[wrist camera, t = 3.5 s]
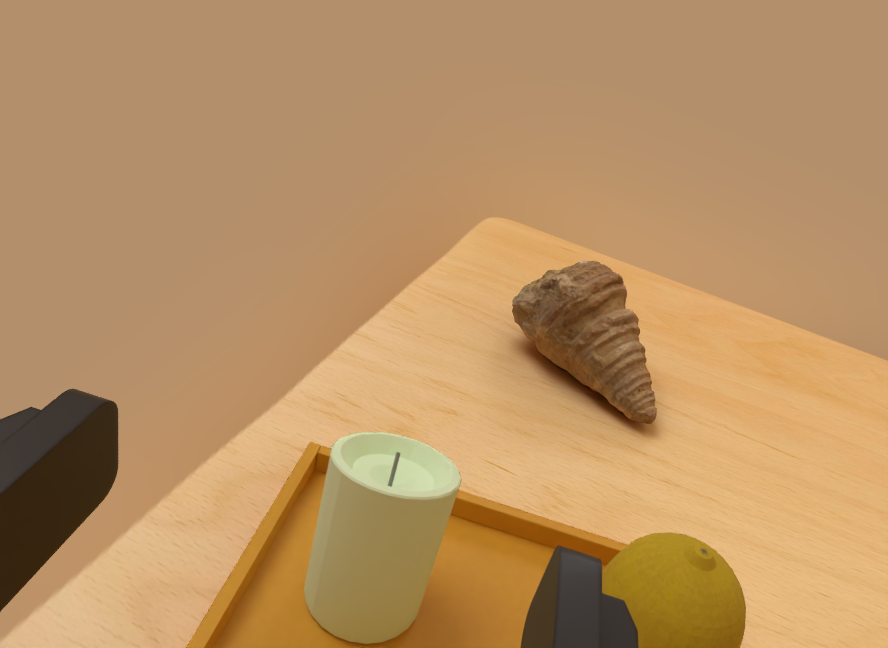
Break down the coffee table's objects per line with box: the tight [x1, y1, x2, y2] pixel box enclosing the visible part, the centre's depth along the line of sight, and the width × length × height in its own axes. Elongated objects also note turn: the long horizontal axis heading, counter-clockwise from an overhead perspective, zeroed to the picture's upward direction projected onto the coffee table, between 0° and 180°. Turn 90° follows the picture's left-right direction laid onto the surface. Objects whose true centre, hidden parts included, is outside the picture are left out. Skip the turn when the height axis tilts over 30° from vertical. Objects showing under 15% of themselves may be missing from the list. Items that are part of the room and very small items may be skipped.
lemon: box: [602, 533, 746, 648], centre depth 27 cm, size 6×6×8 cm
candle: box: [304, 432, 462, 644], centre depth 28 cm, size 5×5×8 cm
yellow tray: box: [186, 442, 627, 648], centre depth 29 cm, size 21×13×2 cm, turn 78°
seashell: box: [512, 261, 656, 424], centre depth 49 cm, size 14×8×8 cm
